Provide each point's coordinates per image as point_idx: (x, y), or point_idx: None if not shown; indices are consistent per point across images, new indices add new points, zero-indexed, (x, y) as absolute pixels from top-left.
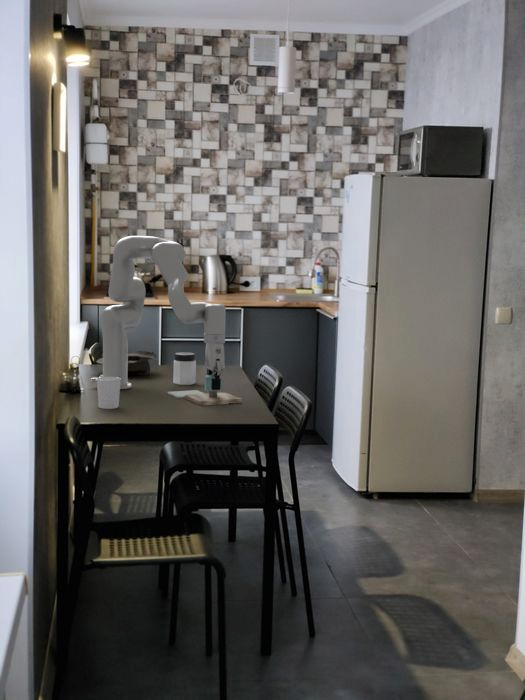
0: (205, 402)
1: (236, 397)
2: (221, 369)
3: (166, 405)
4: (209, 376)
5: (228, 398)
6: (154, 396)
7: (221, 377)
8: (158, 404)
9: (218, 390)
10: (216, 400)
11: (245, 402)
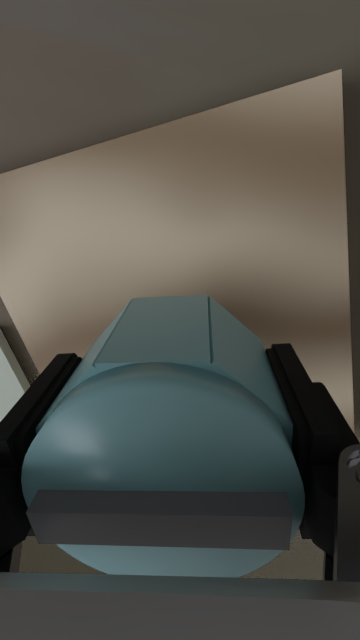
0: (349, 419)
1: (248, 120)
2: (280, 607)
3: (281, 558)
4: (187, 554)
5: (286, 226)
6: (45, 558)
7: (232, 402)
8: (248, 577)
9: (263, 347)
10: (351, 350)
11: (304, 21)
